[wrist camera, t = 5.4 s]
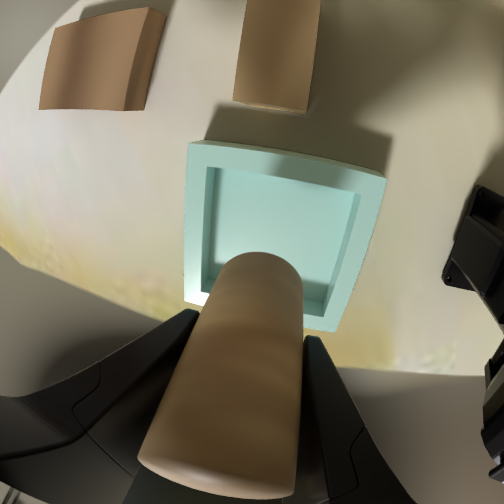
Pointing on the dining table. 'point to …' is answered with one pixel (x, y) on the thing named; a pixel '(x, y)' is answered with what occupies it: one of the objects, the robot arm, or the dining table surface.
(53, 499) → the robot arm
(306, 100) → the block
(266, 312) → the oak dowel
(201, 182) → the tray
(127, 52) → the walnut board
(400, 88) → the dining table surface
